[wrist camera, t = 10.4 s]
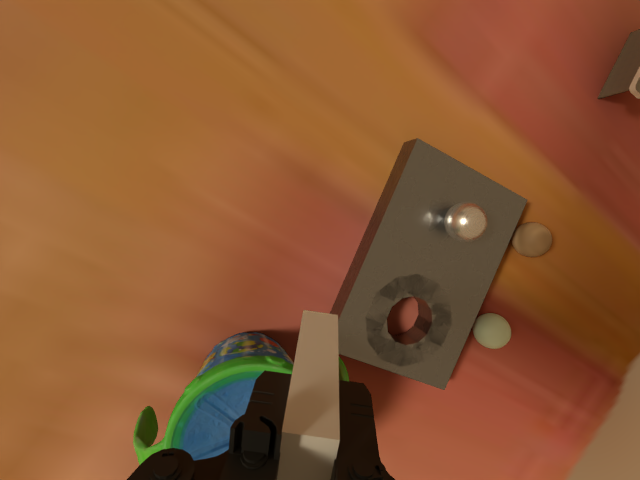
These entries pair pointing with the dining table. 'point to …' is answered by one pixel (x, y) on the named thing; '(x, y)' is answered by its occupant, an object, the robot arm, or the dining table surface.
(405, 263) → the plate
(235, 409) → the snack cup
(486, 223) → the steel ball
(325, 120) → the dining table surface
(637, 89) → the platform
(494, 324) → the pale green ball
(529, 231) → the cork ball
